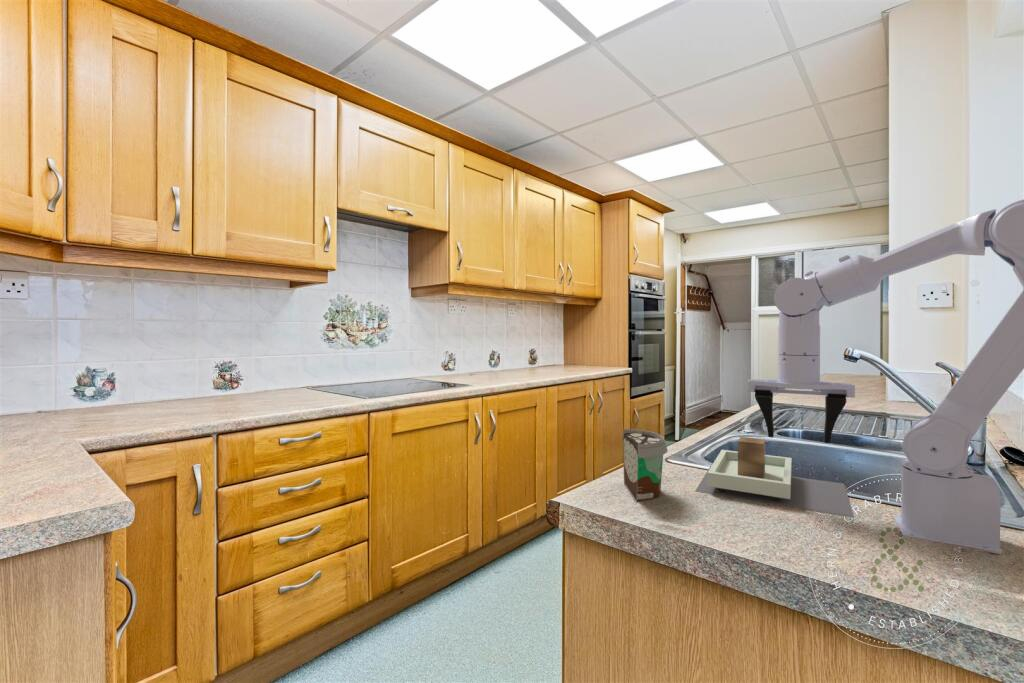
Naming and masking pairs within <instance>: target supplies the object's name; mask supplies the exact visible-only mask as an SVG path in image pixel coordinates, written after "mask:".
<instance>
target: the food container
mask: <svg viewBox="0 0 1024 683" xmlns="http://www.w3.org/2000/svg"><path fill="white" fill-rule="evenodd" d="M621 436H622V437H621V438H622V439H621V440H622V450H623V451H622V452H623V454H622V455H623V457H622V460H623V485H624V487H625V489H626V490H627V491H628V493H629V495H630V496H631V497H632V499H633V501H634V502H635V504H637V503H639V502H646V501H651V500H655V499H657V498H658V497H660V495H661V488H662V478H663V477H662V474H663V463H664V455H665V454H667V452H668V447H667V442H666V440H665V438H664V436H663V435H661V434H659V433H657V432H653V431H650V430H649V431H648V430H644V429H643V430H641V429H629V428H623V429H622V435H621Z"/></svg>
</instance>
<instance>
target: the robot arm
mask: <svg viewBox="0 0 1024 683" xmlns="http://www.w3.org/2000/svg"><path fill="white" fill-rule="evenodd" d="M986 248H990V249H991V250H992V251H993V253H995V255H997V256H998V257H999V258H1000V259H1001V260H1003V261H1004V262H1006V263H1007V264H1008V265H1009V266H1010V267H1012V271H1013V273H1014V274H1015V276H1016V278H1017V280H1018V281H1019V283H1020V285H1021V286H1022V291H1021V292H1020V294H1019V295H1018V297H1017V298H1016V299H1015V301H1014V303H1012V305H1011V306H1010V307H1009V309H1008V310H1007V311H1006V313H1005V314H1004V316H1003V317H1002V318H1001V320H1000V321H999V323H998V324H997V325H996V326H995V328H994V329H993V331H992V332H991V333H990V335H989V336H988V337H987V338H986V340H985V341H984V343H983V344H982V346H981V347H980V348H979V350H978V351H977V353H976V354H975V355H974V356H973V358H972V359H971V360H970V362H969V364H968V365H967V366H966V367H965V369H964V370H963V372H962V373H961V374H960V376H958V378H957V379H956V381H955V382H954V384H953V385H952V386H951V388H950V389H949V390H948V392H947V393H946V395H945V396H944V397H943V398H942V399H941V401H940V403H939V404H938V405H937V406H936V407H935V409H934V410H933V411H932V412H931V413H930V414H928V415H926V416H924V417H922V418H920V419H917V421H915V422H914V423H913V424H912V426H911V428H910V430H909V431H907V433H906V434H905V436H904V438H903V440H902V449H903V450H902V451H903V453H904V455H905V457H906V458H904V459H902V460H901V500H900V501H901V504H900V506H901V507H900V508H901V510H900V514H897V513H896V514H893V518H894V519H895V520H894V521H895V522H896V524H897V526H898V529H899V530H900V532H901V534H902V535H903V536H904V537H909V538H915V539H920V540H927V541H932V542H938V543H945V544H951V545H956V546H961V547H967V548H972V549H978V550H985V551H986V552H987V553H990V554H997V555H1002V553H1003V552H1002V551H1003V550H1002V549H1001V516H1002V515H1001V512H1002V511H1001V509H1002V508H1001V505H1002V502H1001V495H1000V489H999V486H998V483H997V481H996V479H995V478H994V477H992V476H990V475H986V474H979V473H975V472H974V471H975V470H974V468H973V467H970V465H969V464H968V463H967V461H968V459H969V458H968V457H969V448H970V443H971V440H972V439H973V437H974V436H975V435H976V434H977V432H978V430H979V429H980V428H981V425H982V424H983V423H984V421H985V419H986V418H987V416H988V415H989V414H990V413H991V411H992V410H993V408H994V407H995V406H996V405H997V403H998V402H999V401H1000V399H1001V398H1002V397H1003V396H1004V395H1005V393H1006V392H1007V391H1008V389H1009V388H1010V387H1011V386H1012V384H1014V381H1016V379H1017V378H1019V376H1020V375H1021V373H1022V372H1023V370H1024V199H1021V200H1017V201H1014V202H1012V203H1010V204H1008V205H1006V206H1004V207H1003V208H1001V209H1000V210H999V211H997V209H991V210H987V211H983V212H980V213H977V214H974V215H973V216H970V217H967V218H964V219H963V220H959V221H956V222H955V223H954V222H953V223H952V224H950V225H947V226H945V227H943V228H940V229H938V230H936V231H933V232H931V233H929V234H926V235H924V236H922V237H920V238H919V237H918V238H917V239H915V240H913V241H910V242H907V243H906V244H903V245H901V246H898V247H896V248H894V249H892V250H889V251H886V252H885V253H883V254H880V255H877V256H875V257H868V256H865V255H860V254H857V255H854V256H850V255H847V254H845V255H843V256H841V257H838V259H837V260H838V262H837V263H835V264H832V265H830V266H827V267H824V268H823V269H820V270H817V271H815V272H814V271H813V270H810V271H807V272H805V273H804V278H801V277H790V278H788V279H787V280H786V281H784V282H783V283H780V285H779V286H778V287H777V289H776V290H775V292H774V296H773V303H774V306H775V307H776V308H777V310H779V311H778V327H777V328H778V330H777V332H778V333H777V335H778V336H777V339H778V340H777V341H778V342H777V345H778V346H777V347H778V348H777V349H778V350H777V351H778V352H777V354H778V355H777V357H778V359H777V360H778V363H777V366H778V368H777V369H778V370H777V371H778V372H777V373H778V374H777V376H778V377H777V379H751V378H750V379H748V380H747V392H750V393H754V398H755V401H756V402H757V404H758V407H759V408H760V411H761V413H762V415H763V419H764V421H765V425H766V429H767V437H768V438H774V433H775V432H774V431H775V430H774V429H775V428H774V417H773V414H774V413H773V406H774V393H777V394H793V395H811V396H813V395H814V396H825V397H824V398H825V403H824V404H825V405H824V407H825V408H824V410H825V412H824V413H825V415H824V416H825V418H824V419H825V420H824V421H825V422H824V430H823V441H824V443H825V444H826V443H827V444H830V443H831V437H832V434H833V430H834V427H835V424H836V422H837V420H838V418H839V416H840V414H841V412H842V411H843V409H844V408H845V406H846V404H847V398H856V385H855V384H854V383H843V382H829V381H821V326H820V311H821V310H822V309H823V307H824V306H825V307H832V306H834V305H837V304H841V303H843V302H846V301H849V300H851V299H855V298H858V297H860V296H863V295H865V294H869V293H872V292H874V291H876V290H877V289H878V288H879V285H880V283H881V282H882V280H883V279H884V278H887V277H889V276H893V275H896V274H898V273H899V274H900V273H903V272H905V271H907V270H910V269H914V268H916V267H919V266H922V265H926V264H930V263H931V262H934V261H937V260H942V259H943V258H946V257H950V256H953V255H966V256H985V255H986V254H985V253H986V251H985V250H986Z"/></svg>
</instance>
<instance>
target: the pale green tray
mask: <svg viewBox="0 0 1024 683" xmlns="http://www.w3.org/2000/svg"><path fill="white" fill-rule="evenodd" d="M792 465H793V464H792V457H787V456H777V455H769V454H765V475H764V479H762V478H755V477H748V476H741V475H738V450H737V451H735V450H729V449H728V450H727V449H720V452H719V453H718V454H717V457H716V458H715V459H714V462H712V465H710V466H711V468H710V467H709V468H710V469H709V468H708V469H709V471H708V470H707V471H708V486H710V487H716V488H718V490H719V491H722V492H725V491H726V489H729V490H735V491H742V492H748V493H754V494H760V495H767V496H772V500H778V501H780V498H786V499H790V495H791V477H792Z"/></svg>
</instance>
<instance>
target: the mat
mask: <svg viewBox="0 0 1024 683" xmlns="http://www.w3.org/2000/svg"><path fill="white" fill-rule="evenodd" d="M711 466H712V465H710V466H709V468H708V469H707V471H706V473H705V474H704V476H703V477H702V479H701V481H700V482H699V484H698V486H697V487H696V489H695V490H694V492H697V493H703V494H708V495H715V496H721V497H725V498H726V497H727V498H733V499H739V500H745V501H750V502H755V503H756V502H758V503H762V504H763V503H764V504H768V505H769V504H770V505H775V506H781V507H786V508H793V509H799V510H804V511H811V512H817V513H822V514H828V515H834V516H835V515H836V516H841V517H845V518H846V517H848V518H852V519H853V518H855V517H854V513H853V510H852V506H851V502H850V500H849V496H848V492H847V488H846V486H845V483H841V482H833V481H827V480H818V479H813V478H804V477H799V476H798V477H797V476H791V495H790V499H786V498H780V501H778V500H772V496H767V495H760V494H754V493H748V492H742V491H735V490H729V489H726V491H725V492H722V491H719V490H718V488H716V487H710V486H708V471H709V469H710V468H711ZM822 486H824V487H822ZM825 487H828V488H825Z"/></svg>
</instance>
